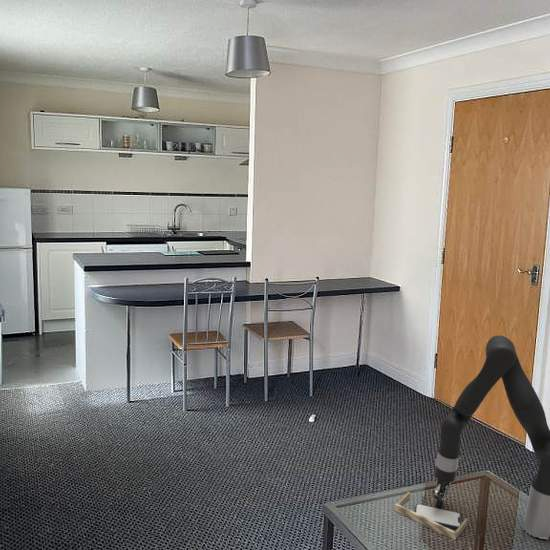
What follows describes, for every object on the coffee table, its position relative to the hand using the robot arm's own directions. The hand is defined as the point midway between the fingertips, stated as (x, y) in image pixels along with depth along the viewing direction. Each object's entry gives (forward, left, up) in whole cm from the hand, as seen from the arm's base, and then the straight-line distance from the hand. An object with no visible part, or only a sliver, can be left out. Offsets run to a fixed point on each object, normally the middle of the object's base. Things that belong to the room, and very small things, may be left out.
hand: (438, 507), depth 220 cm
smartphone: (-2, +5, -1) cm, 6 cm away
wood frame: (0, +7, -1) cm, 7 cm away
